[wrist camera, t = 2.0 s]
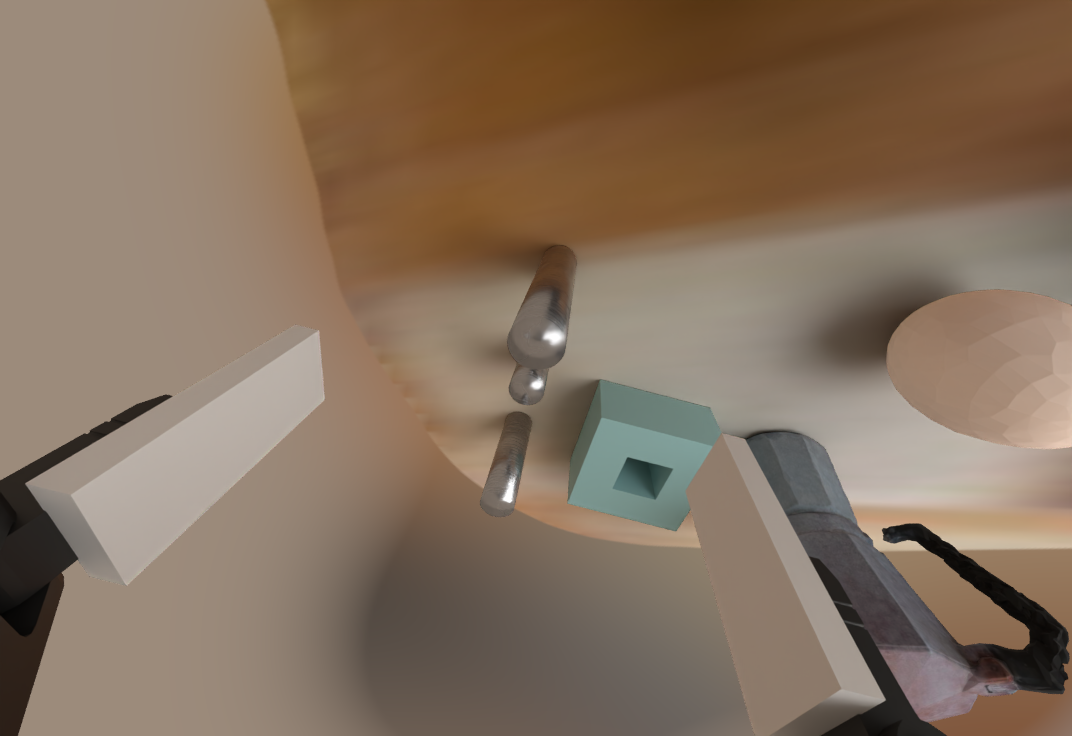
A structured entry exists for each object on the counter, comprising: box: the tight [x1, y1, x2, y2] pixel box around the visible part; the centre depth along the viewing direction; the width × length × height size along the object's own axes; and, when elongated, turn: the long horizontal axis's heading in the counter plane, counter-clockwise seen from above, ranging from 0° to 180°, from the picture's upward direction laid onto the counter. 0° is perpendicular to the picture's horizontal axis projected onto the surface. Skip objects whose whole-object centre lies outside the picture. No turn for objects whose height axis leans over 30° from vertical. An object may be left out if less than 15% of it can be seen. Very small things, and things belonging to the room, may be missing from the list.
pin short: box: [509, 362, 549, 405], centre depth 30 cm, size 3×3×6 cm
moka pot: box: [746, 432, 1069, 722], centre depth 27 cm, size 10×15×20 cm, turn 134°
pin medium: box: [480, 412, 532, 517], centre depth 33 cm, size 3×3×10 cm
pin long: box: [507, 245, 577, 370], centre depth 23 cm, size 3×3×14 cm
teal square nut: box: [567, 380, 721, 531], centre depth 34 cm, size 10×10×6 cm
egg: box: [886, 289, 1072, 449], centre depth 23 cm, size 9×9×12 cm
